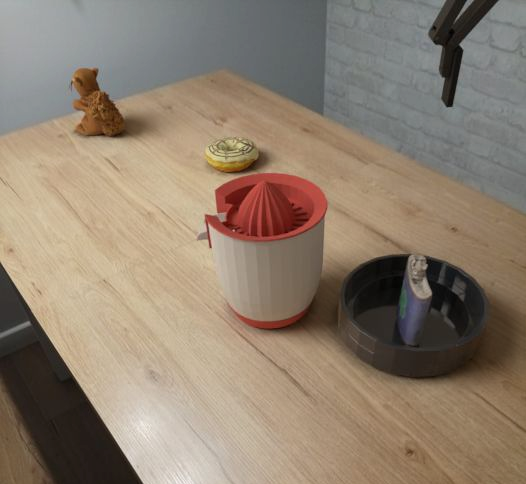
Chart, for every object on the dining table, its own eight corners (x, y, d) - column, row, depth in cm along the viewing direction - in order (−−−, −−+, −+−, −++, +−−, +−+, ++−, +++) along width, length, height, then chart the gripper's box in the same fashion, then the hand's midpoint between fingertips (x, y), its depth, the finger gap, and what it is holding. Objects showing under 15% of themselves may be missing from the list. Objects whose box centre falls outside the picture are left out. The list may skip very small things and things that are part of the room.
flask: (421, 348, 69) (437, 287, 61) (399, 348, 69) (411, 286, 61) (414, 302, 75) (427, 241, 67) (393, 301, 75) (404, 240, 68)
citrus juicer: (220, 267, 84) (203, 148, 69) (327, 273, 81) (333, 152, 67) (196, 335, 74) (170, 213, 59) (318, 345, 71) (323, 220, 56)
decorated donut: (268, 163, 107) (267, 145, 104) (225, 180, 103) (223, 162, 100) (240, 145, 113) (238, 128, 110) (198, 161, 109) (195, 144, 106)
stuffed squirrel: (108, 115, 127) (92, 57, 117) (140, 132, 120) (126, 71, 110) (72, 129, 123) (52, 69, 113) (102, 147, 115) (85, 85, 106)
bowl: (458, 280, 79) (467, 251, 75) (496, 377, 66) (509, 348, 62) (332, 285, 80) (334, 256, 75) (344, 381, 66) (347, 353, 62)
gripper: (438, -111, 48) (408, 119, 63) (715, -138, 47) (615, 102, 62) (420, -120, 53) (396, 94, 69) (669, -145, 52) (587, 79, 68)
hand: (500, 98), depth 66 cm, fingers open, 13 cm apart
